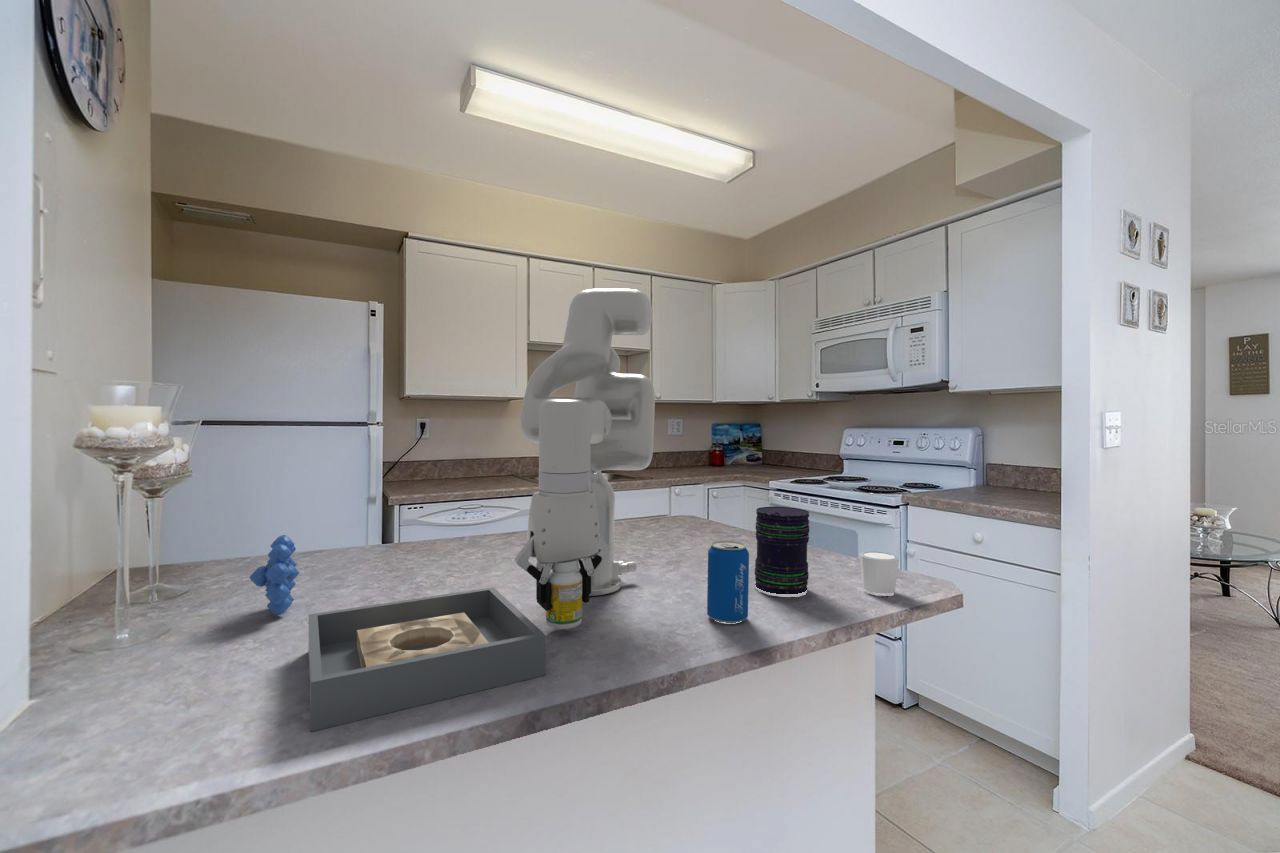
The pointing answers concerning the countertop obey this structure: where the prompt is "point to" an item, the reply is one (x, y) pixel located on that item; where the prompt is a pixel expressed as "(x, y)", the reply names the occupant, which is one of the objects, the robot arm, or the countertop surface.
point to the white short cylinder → (879, 571)
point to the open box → (420, 680)
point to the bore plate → (416, 639)
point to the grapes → (278, 575)
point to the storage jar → (782, 550)
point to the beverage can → (728, 581)
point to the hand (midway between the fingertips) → (564, 602)
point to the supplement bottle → (565, 595)
